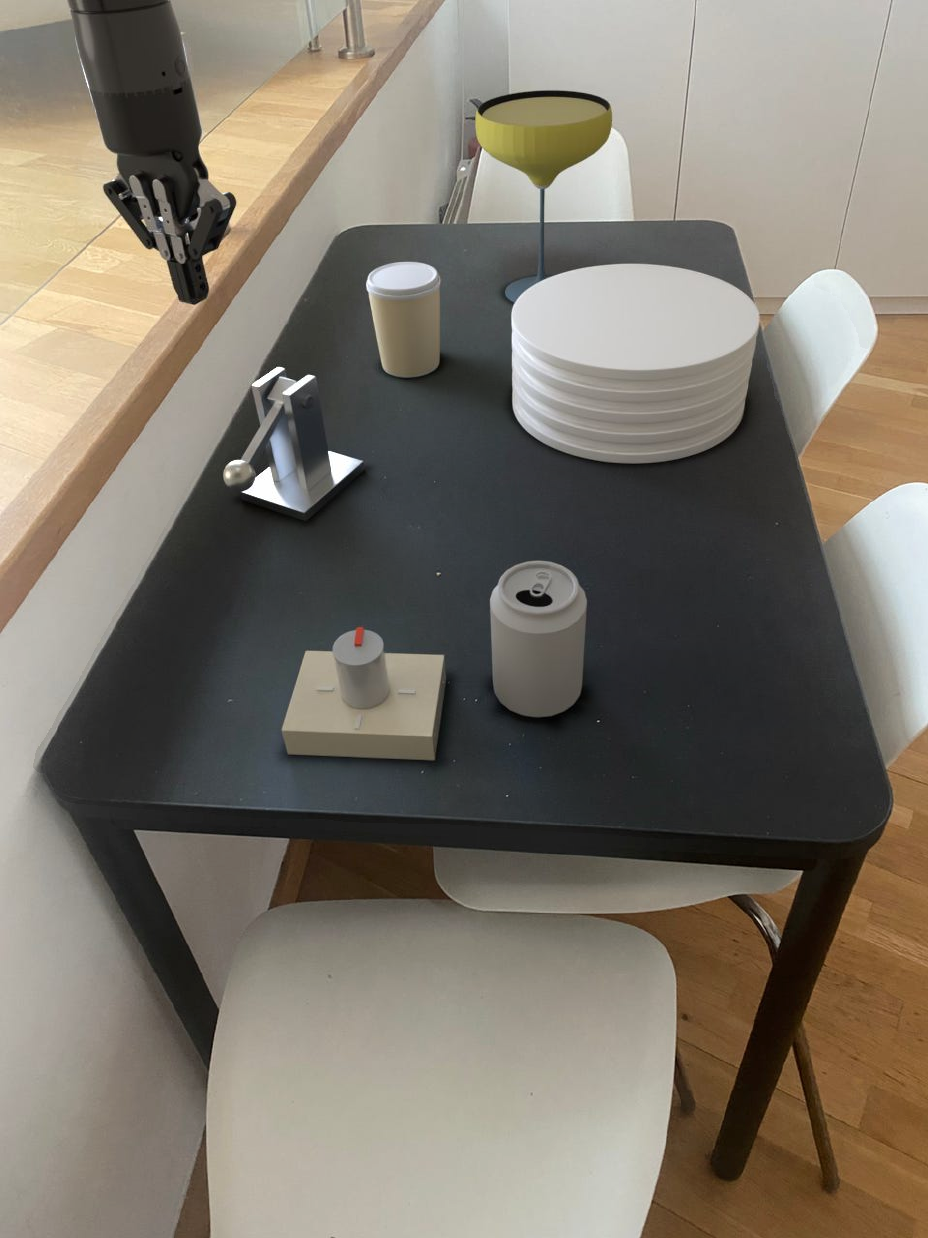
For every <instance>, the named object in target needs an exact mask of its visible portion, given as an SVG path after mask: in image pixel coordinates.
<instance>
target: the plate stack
mask: <svg viewBox="0 0 928 1238" xmlns="http://www.w3.org/2000/svg"><path fill="white" fill-rule="evenodd" d="M510 316H511V317H510V318H511V350H512V351H511V369H512V371H511V386H512V393H511V395H512V396H511V403H512V411H513V414H514V416H515V418H516V420H517V422H518V424H520V426H521V427H522V428H523V429H524V430H525V431H526V432H527V434H529V435H531V436H532V437H533V438H535V439H536V440H538V441H539V442H541V443H542V444H544V445H546V446H548V447H550V448H553V449H555V450H557V451H560V452H562V453H565V454H568V455H571V456H574V457H578V458H582V459H587V460H592V461H596V462H597V461H598V462H604V463H614V464H653V463H662V462H663V463H664V462H669V461H675V460H680V459H684V458H687V457H692V456H694V455H697V454H700V453H702V452H705V451H707V450H709V449H712V448H714V447H715V446H718V445H720V444H721V443H722V442H724V441H725V440H727V438H729V437H730V436H731V435H732V434H733V433H734V432H735V431H736V429H737V428H738V426H739V425H740V423H741V421H742V419H743V417H744V411H745V407H746V406H745V404H746V398H747V393H748V390H749V381H750V376H751V372H752V367H753V358H754V355H755V350H756V344H757V336H758V334H759V328H760V321H761V317H760V312H759V309H758V307H757V305H756V304H755V303H754V301H753V299H751V297H750V296H748V295H747V294H746V293H745V292H744V291H742V290H741V289H739V288H738V287H736V286H734V285H733V284H731V283H729V282H727V281H725V280H723V279H720V278H718V277H715V276H713V275H712V276H711V275H709V274H707V273H703V272H699V271H697V270H692V269H687V268H683V267H676V266H670V265H663V264H662V265H661V264H650V263H649V264H648V263H613V264H603V265H600V264H599V265H593V266H586V267H582V268H575V269H572V270H568V271H564V272H561V273H558V274H555V275H552V276H551V277H549V278H547V279H545V280H543V281H540V282H539V283H537V284H535V285H533V286H532V287H530V288H529V289H527V290H526V291H525V292H524V293H523V294H522V295H521V296H520V297H519V298H518V299H517V301H516V302H515V303H513V306H512V309H511V315H510Z"/></svg>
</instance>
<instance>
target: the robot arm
mask: <svg viewBox="0 0 928 1238" xmlns="http://www.w3.org/2000/svg"><path fill="white" fill-rule="evenodd" d="M66 1H67V4H68V8H69V9H70V10H69V12H70V15H71V16H70V17H71V20H72V25H73V32H74V33H73V34H74V38H75V44H76V48H77V53H78V56H79V60H80V63H81V66H82V70H83V74H84V77H85V81H86V84H87V88H88V92H89V96H90V98H91V102H92V105H93V109H94V112H95V116H96V120H97V123H98V126H99V130H100V133H101V137H102V140H103V141H102V142H103V144H104V147H106V149H107V150H108V151H110V152H111V153H113V154H116V160H115V161H116V168H117V171H118V174H117V175H116V176H115V178H114V179H113V180H110V181H108V182H106V183H104V184H103V185H102V191H103V193H104V195H105V196H106V197H107V198H108V200H109V201H110V203H111V204H112V205H113V207H114V208H115V209H116V210H117V212H118V213H119V215H120V216H121V217H122V219H123V220H124V222H125V223H126V224H127V225H128V226H129V228H130V229H131V230H132V232H133V233H134V235H135V236H136V237H137V238H138V240H139V241H140V243H141V244H142V245H143V247H144V248H146V249H147V250H149V251H150V250H153V249H154V250H156V251H158V252H159V255H160V257H161V258H162V259H163V260H164V261H166V264H167V268H168V273H169V276H170V279H171V283H172V287H173V290H174V292H175V293H176V295H177V299H178V301H179V302H181V303H183V304H189V305H193V306H195V305H198V304H199V303H201V302H203V301H204V300H206V299H207V298H208V297H209V293H210V285H209V282H208V277H207V273H206V269H205V264H204V260H203V258H204V257H203V256H205V255H207V254H209V253H211V252H214V251H216V250H218V249H219V247H220V246H221V243H222V240H223V238H224V235H225V233H226V231H227V228H228V226H229V223H230V221H231V219H232V216H233V214H234V211H235V210H236V206H237V199H236V197H235V195H234V194H233V193H232V192H230V191H226V192H224V193H221V192H220V191H219V189H218V188H216V186H214V184H213V183H212V182H210V180H209V177H210V176H209V174H210V173H209V171H208V168H207V165H206V164H205V162H204V160H203V158H202V156H201V154H200V149H199V147H200V142H201V139H202V137H203V127H202V123H201V118H200V113H199V109H198V103H197V100H196V95H195V90H194V86H193V85H194V84H193V80H192V75H191V72H190V68H189V63H188V59H187V54H186V49H185V43H184V40H183V36H182V32H181V29H180V26H179V23H178V20H177V18H176V14H175V12H174V7H173V5H172V1H171V0H66ZM143 221H144V222H143Z"/></svg>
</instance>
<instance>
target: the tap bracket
mask: <svg viewBox="0 0 928 1238" xmlns="http://www.w3.org/2000/svg"><path fill="white" fill-rule="evenodd" d="M286 371H287V370H286V368H285V367H281V366H277V367H276V368H274V369H273V370H271V371H270V372H269V373H267V374H265V375H264V376H262V377H261V378H260V379H258V380H256V381H255V382H254V383H252V384H251V386H250V387H251V390H252V394H253V399H254V403H255V408H256V412H257V417H258V421H259V426H261V425H262V423H263V421H264V420H265V418H266V416H267V414H268V413H269V411H270V409H271V408H272V406H273V405H272V404H271V403H270V401H269V400H268V399H267V397H268V396H269V394H270V392H271V391H272V389H273V387H274V386H275V384H276V382H277V381H278V379H279V377H283V378H287V379H288V376H287V372H286ZM319 393H320V392H319V387H318V382H317V377H316V375H311V374H307V375H305V376H304V377H303V378H301V379H300V380H298V381H297V383H296V384H295V385H293V386H292V387H290V388H289V389H288V390H286V391H285V392H283V393H282V396H283V401H284V406H285V411H286V414H284V416H283V418H282V419H281V421H280V423H279V424H278V426H277V428H276V430H275V431H274V433H273V435H272V436H271V438H270V440H269V441H268V443H267V445H266V446H265V448H264V450H265V453H266V457H267V462H268V467H267V468H266V469H265V470H264V471H263V472H261V473H260V474H259V475H256V479H255V483H254V485H253V486H252V487H251V488H250V489H249V490H247V491H244V492H238V493H239V496H240V500H241V501H244V502H247V503H250V504H253V505H256V506H259V507H261V508H265V509H268V510H271V511H273V512H277V513H279V514H282V515H284V516H285V515H286V516H289V517H291V518H294V519H297V520H301V521H304V522H307V521H309V519H311V518H313V516H314V515H316V513H318V512H319V511H320V510H321V509H322V508H323V507H324V506H326V505H327V504H328V503H329V502H330V501H331V500H333V499H334V498H335V496H337V495H338V494H339V493H341V491H343V490H344V489H345V488H346V487H347V486H348V485H350V483H352V482H353V481H354V480H355V479H356V478H357V477H359V476H360V475H361V474H362V473H363V472H364V471H365V463H364V460H360V459H357V458H354V457H351V456H347V455H343V454H340V453H336V452H335V451H334V452H333V451H330V450H329V447H328V441H327V435H326V429H325V424H324V418H323V411H322V406H321V405H322V404H321V400H320V394H319Z"/></svg>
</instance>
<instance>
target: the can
mask: <svg viewBox="0 0 928 1238" xmlns="http://www.w3.org/2000/svg"><path fill="white" fill-rule="evenodd" d="M490 595H491V596H490V599H489V608H490V609H489V611H490V637H491V638H490V639H491V663H492V666H491V667H492V685H493V692H494V694H495V697H496V698H497V699H498V701H499V703H500V704H502V705H503V706H504V707H506V708H507V710H509V711H511V712H513V713H516V714H519V715H521V716H524V717H531V718H543V717H544V718H545V717H552V716H555V715H558V714H560V713H563V712H565V711H567V710H568V709H570V708H571V707H572V706H574V704H575V703H576V702H577V700H578V699H579V697H580V696H581V692H582V687H583V676H584V675H583V674H584V661H585V660H584V657H585V642H586V624H587V610H588V609H587V608H588V607H587V606H588V599H587V596H586V592H585V590H584V589H583V588H582V586H581V585H580V584H579V580H578V578H577V576H576V575H575V574H574V573H573V572H572V571H571V570H570V569H568V568H567V567H565V566H564V565H561V564H559V563H556V562H553V561H548V560H547V561H545V560H528V561H525V562H521V563H517V564H515V565H513V566H511V567H510V568H508V569H507V570H505V572H503V574H502V575H501V576H500V577H499V580H498V583H497V585H496V586H495V587H494V588H493V589H492V592H491V594H490Z"/></svg>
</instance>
